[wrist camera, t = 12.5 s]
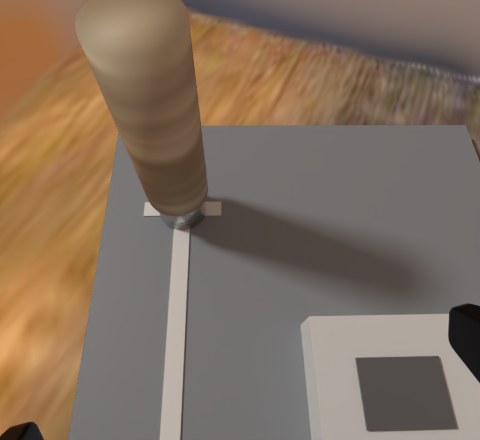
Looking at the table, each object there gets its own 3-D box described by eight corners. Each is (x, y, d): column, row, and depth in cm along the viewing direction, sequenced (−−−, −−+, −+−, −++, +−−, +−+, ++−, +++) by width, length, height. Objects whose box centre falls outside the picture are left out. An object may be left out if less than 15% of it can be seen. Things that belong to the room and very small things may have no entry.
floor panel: (600, 523, 17) (626, 532, 16) (61, 542, 17) (48, 554, 15) (456, 135, 28) (466, 124, 27) (124, 136, 27) (119, 125, 26)
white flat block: (559, 467, 17) (611, 479, 15) (314, 475, 17) (328, 488, 15) (507, 321, 20) (544, 311, 18) (300, 325, 20) (309, 315, 18)
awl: (220, 216, 23) (208, 32, 11) (170, 244, 22) (101, 73, 10) (193, 176, 24) (157, -27, 13) (145, 201, 23) (58, 6, 12)
